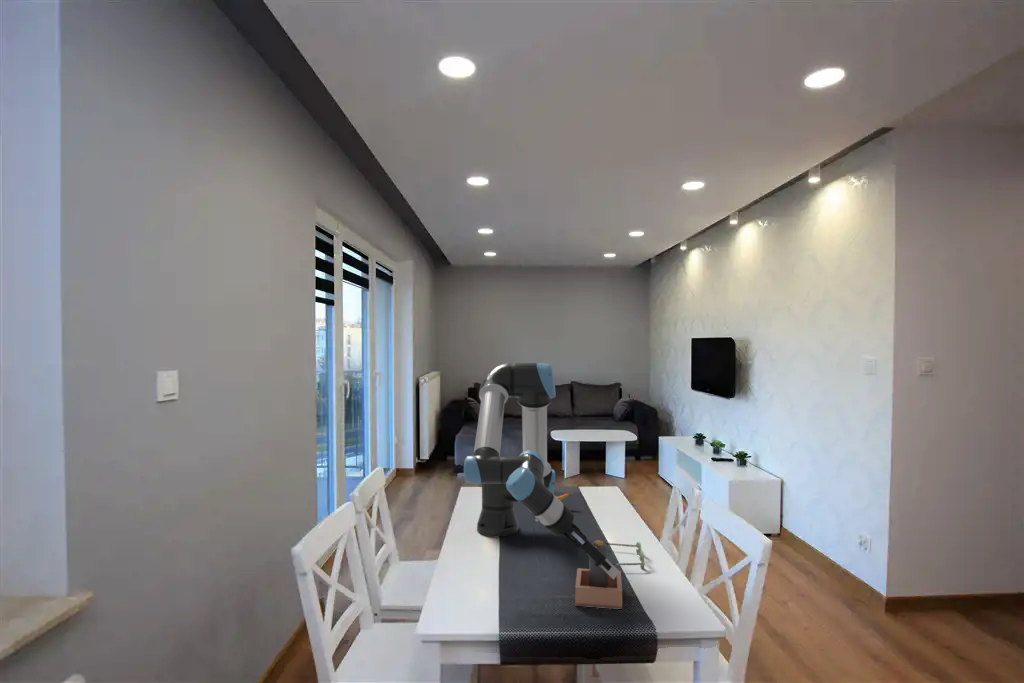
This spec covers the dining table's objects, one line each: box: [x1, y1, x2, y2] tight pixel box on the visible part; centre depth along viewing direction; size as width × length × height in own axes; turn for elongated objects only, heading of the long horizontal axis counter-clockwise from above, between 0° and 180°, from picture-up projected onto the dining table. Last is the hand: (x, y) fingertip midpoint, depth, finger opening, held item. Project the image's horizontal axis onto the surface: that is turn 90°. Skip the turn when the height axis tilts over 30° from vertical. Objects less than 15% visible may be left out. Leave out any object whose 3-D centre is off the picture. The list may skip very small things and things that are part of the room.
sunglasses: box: [604, 542, 646, 569], centre depth 170 cm, size 17×15×5 cm
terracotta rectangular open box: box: [574, 567, 623, 610], centre depth 145 cm, size 12×12×5 cm
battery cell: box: [588, 539, 609, 588], centre depth 145 cm, size 5×5×12 cm
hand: (611, 570), depth 146 cm, fingers closed on battery cell, 5 cm apart
